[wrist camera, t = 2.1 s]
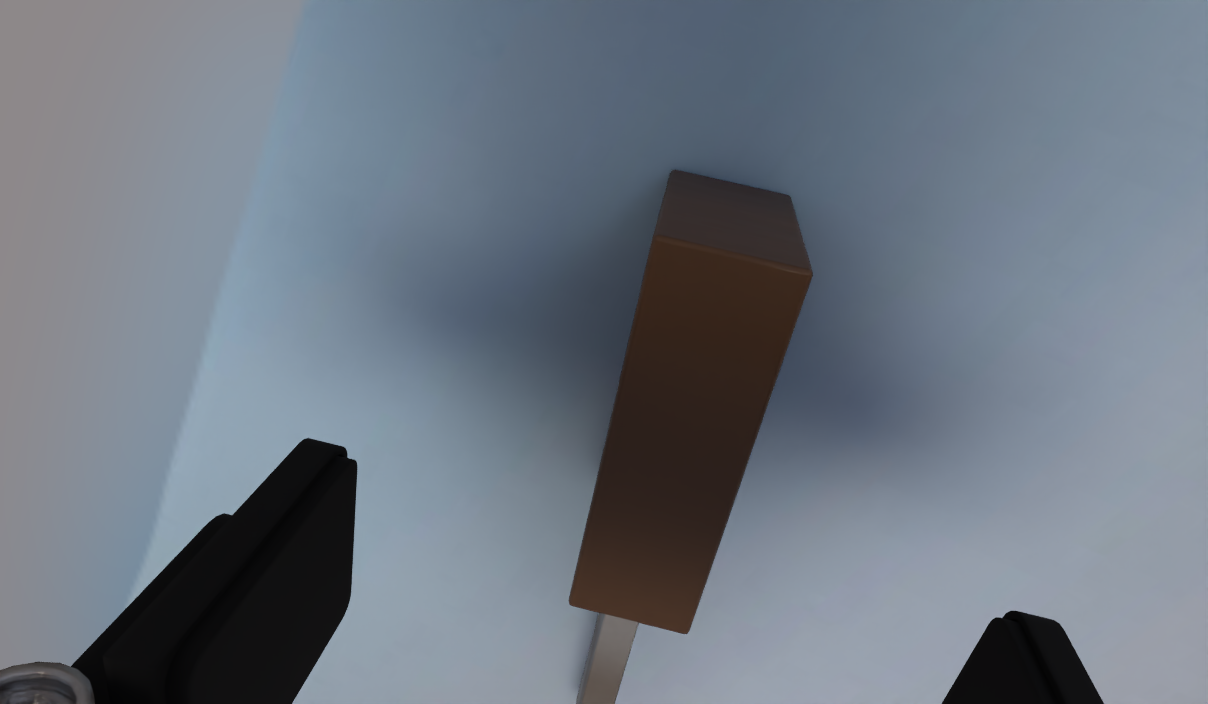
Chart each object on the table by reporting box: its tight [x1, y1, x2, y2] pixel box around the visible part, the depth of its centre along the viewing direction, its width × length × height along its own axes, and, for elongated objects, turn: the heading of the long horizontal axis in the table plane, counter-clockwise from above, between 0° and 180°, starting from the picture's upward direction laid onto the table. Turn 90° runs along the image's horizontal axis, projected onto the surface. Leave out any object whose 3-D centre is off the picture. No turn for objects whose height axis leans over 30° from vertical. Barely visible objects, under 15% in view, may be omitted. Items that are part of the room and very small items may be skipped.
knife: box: [569, 170, 813, 704], centre depth 17 cm, size 16×2×4 cm, turn 169°
